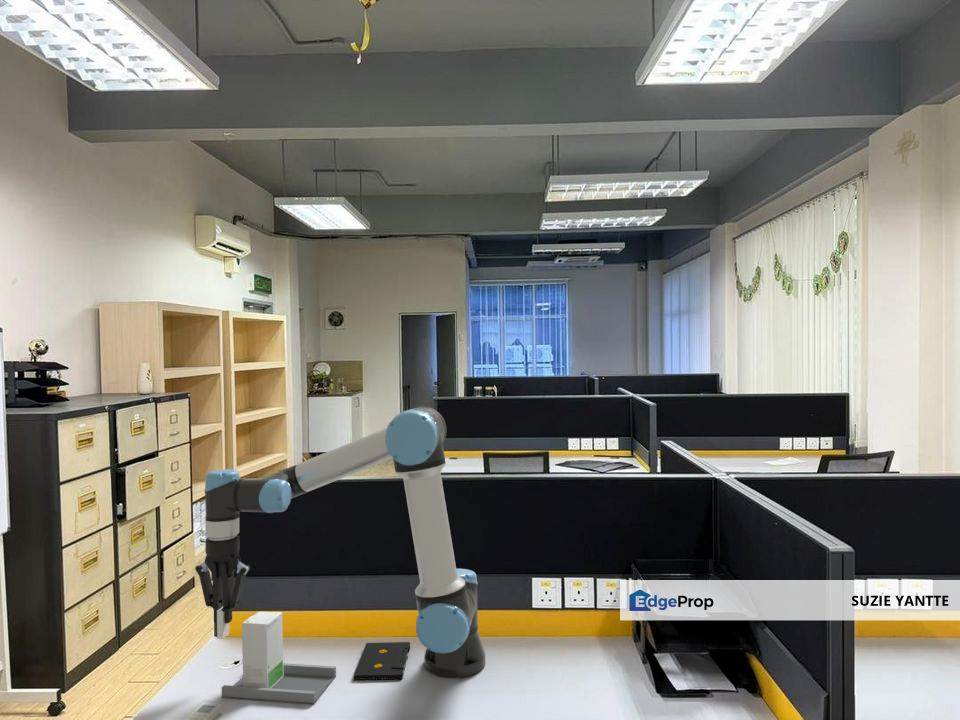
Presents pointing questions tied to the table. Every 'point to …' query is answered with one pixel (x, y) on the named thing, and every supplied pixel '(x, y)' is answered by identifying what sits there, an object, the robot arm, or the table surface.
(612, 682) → the table surface
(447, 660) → the robot arm
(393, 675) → the cassette tape
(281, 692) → the rubber tray
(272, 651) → the skincare box
